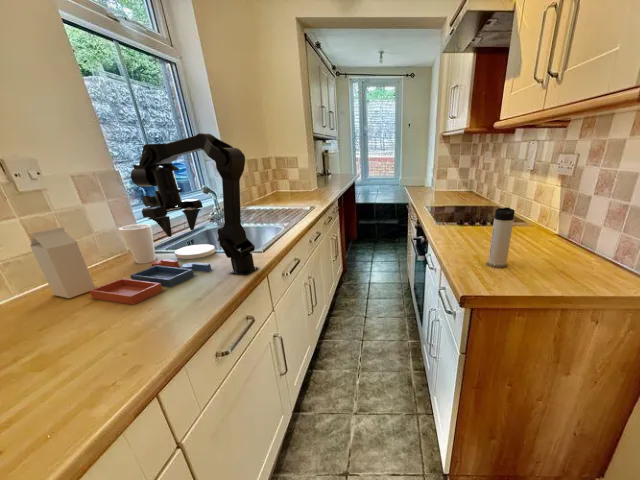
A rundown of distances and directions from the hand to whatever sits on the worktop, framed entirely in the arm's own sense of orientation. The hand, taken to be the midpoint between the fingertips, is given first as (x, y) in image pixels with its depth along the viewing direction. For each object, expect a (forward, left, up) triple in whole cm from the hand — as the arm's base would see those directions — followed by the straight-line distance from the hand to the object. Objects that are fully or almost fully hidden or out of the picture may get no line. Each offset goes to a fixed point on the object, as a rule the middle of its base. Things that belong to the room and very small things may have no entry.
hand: (181, 233), depth 109 cm
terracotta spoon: (+9, +2, -12) cm, 16 cm away
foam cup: (+22, -1, -13) cm, 26 cm away
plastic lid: (+8, -11, -13) cm, 19 cm away
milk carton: (+16, +27, -13) cm, 34 cm away
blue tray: (-1, +12, -12) cm, 17 cm away
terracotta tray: (-1, +24, -12) cm, 27 cm away
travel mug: (-107, -30, -13) cm, 112 cm away
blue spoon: (-5, +2, -12) cm, 13 cm away
